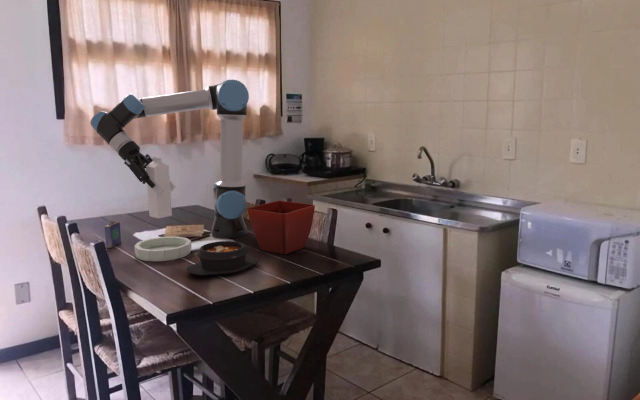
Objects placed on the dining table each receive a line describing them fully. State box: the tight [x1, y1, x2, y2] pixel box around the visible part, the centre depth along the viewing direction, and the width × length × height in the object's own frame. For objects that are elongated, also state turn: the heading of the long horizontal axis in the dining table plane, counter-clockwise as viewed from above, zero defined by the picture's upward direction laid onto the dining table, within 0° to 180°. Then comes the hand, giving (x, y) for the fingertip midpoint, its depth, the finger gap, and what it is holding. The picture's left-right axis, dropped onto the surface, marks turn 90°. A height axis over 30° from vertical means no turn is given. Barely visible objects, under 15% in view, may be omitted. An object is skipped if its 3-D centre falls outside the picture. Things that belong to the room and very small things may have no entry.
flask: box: [104, 219, 122, 249], centre depth 211 cm, size 9×3×11 cm, turn 172°
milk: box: [145, 156, 173, 219], centre depth 195 cm, size 6×6×22 cm
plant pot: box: [246, 200, 316, 255], centre depth 203 cm, size 19×19×17 cm
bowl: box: [133, 236, 192, 262], centre depth 200 cm, size 20×20×4 cm
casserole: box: [186, 240, 260, 277], centre depth 179 cm, size 25×19×8 cm
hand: (167, 190), depth 195 cm, fingers closed on milk, 8 cm apart
